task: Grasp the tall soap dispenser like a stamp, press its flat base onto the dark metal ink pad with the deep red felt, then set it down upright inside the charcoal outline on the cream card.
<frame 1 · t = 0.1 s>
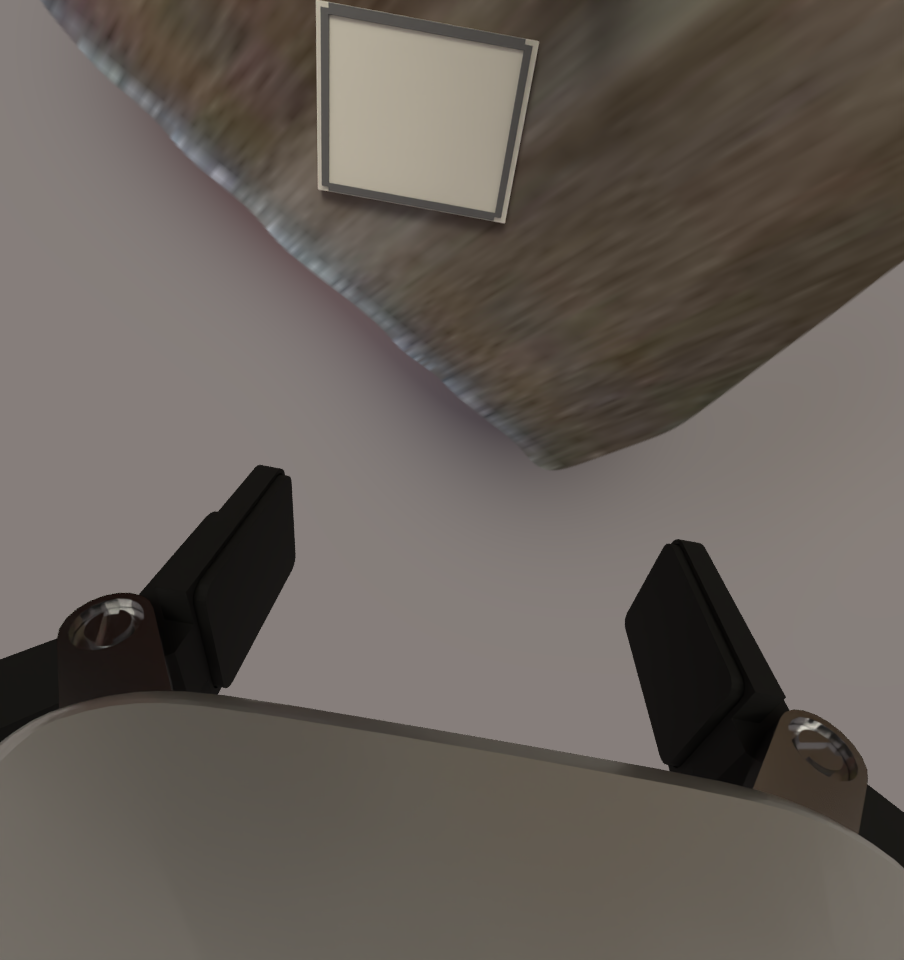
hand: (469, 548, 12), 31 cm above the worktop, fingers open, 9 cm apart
marked card: (420, 122, 32), on the worktop
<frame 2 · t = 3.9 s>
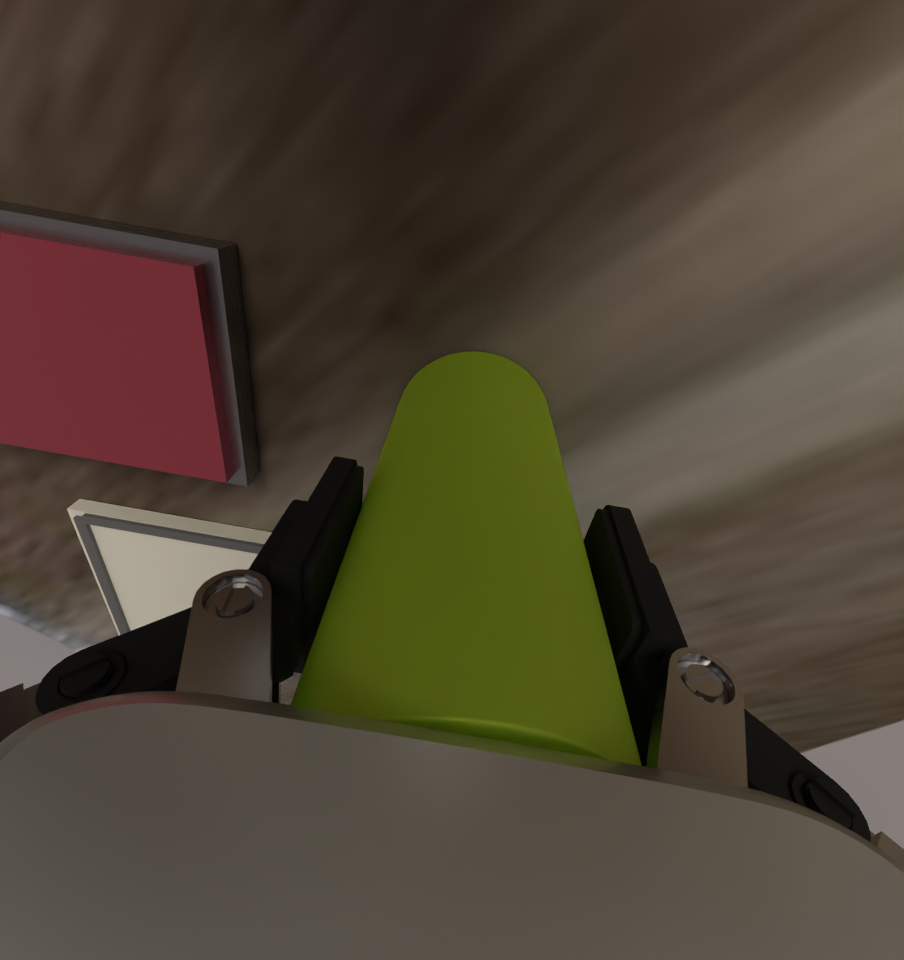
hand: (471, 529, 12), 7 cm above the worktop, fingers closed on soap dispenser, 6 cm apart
marked card: (236, 594, 25), on the worktop
soap dispenser: (481, 413, 18), on the worktop, touching gripper
ink pad: (68, 341, 18), on the worktop
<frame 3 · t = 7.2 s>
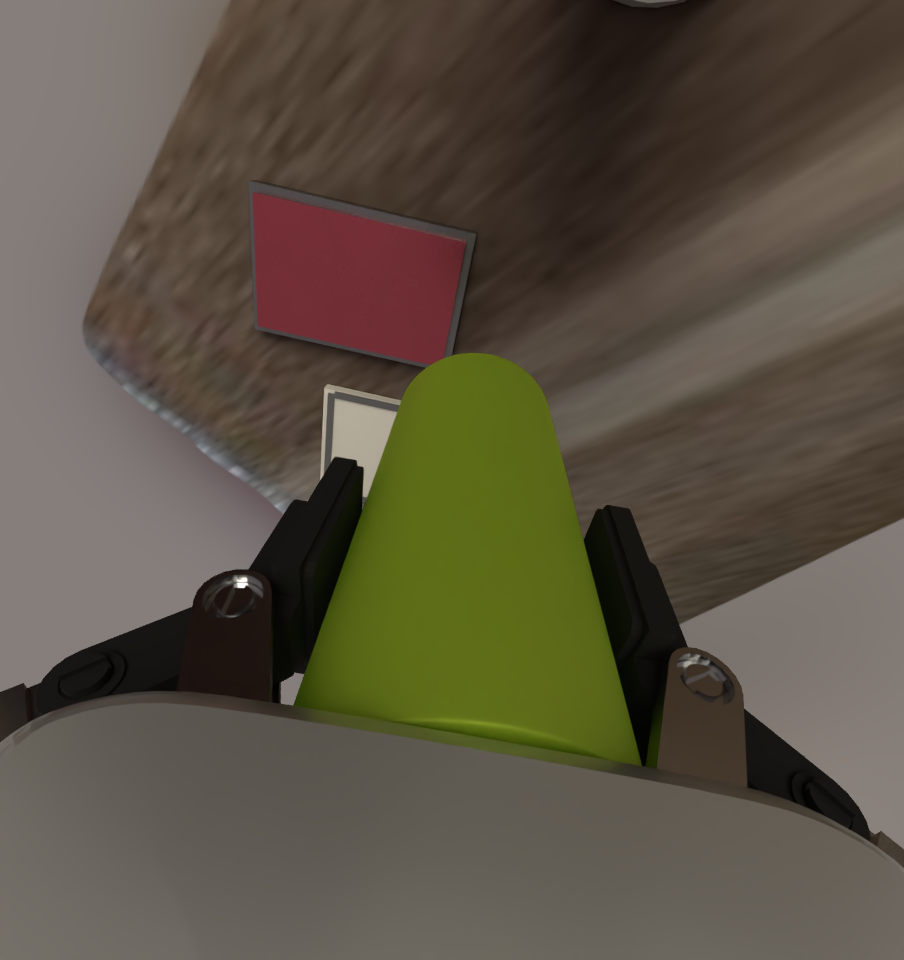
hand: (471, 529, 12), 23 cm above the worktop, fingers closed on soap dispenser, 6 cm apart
marked card: (407, 457, 39), on the worktop
soap dispenser: (482, 415, 18), point 17 cm above the worktop, touching gripper
ink pad: (361, 281, 31), on the worktop
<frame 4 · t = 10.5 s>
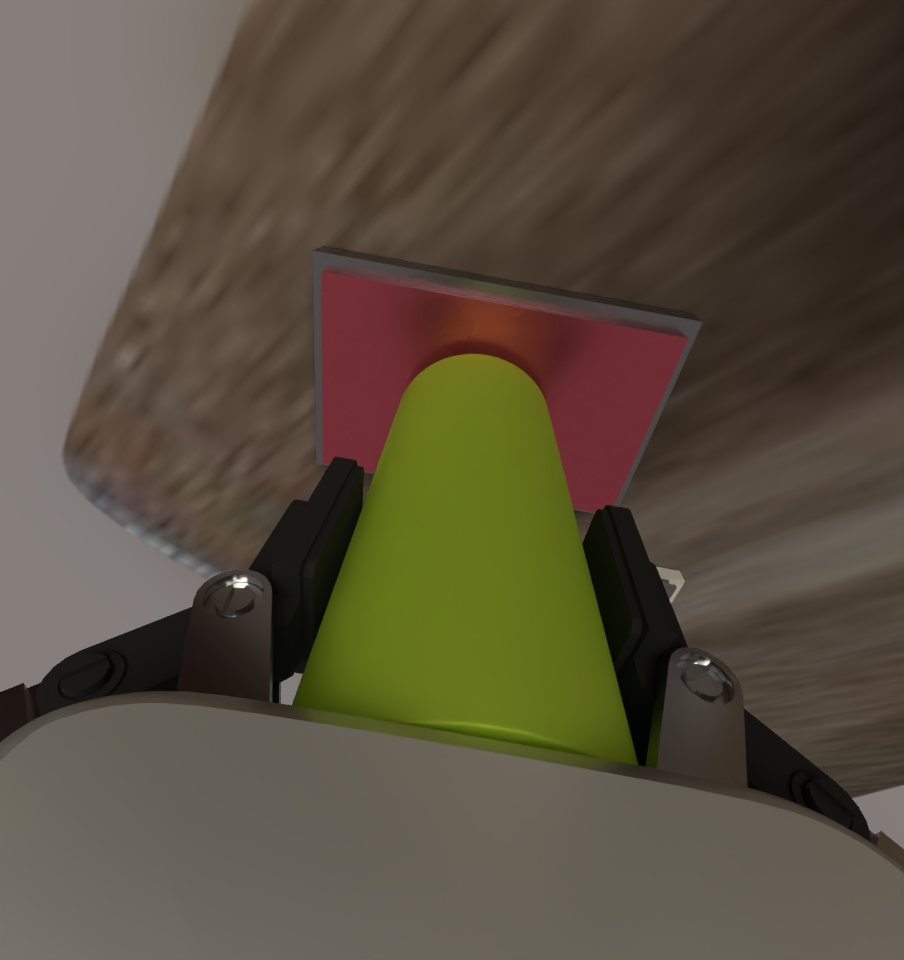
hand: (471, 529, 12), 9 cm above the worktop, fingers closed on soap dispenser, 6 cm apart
marked card: (526, 609, 27), on the worktop
soap dispenser: (481, 416, 18), point 2 cm above the worktop, touching gripper
ink pad: (485, 390, 20), on the worktop
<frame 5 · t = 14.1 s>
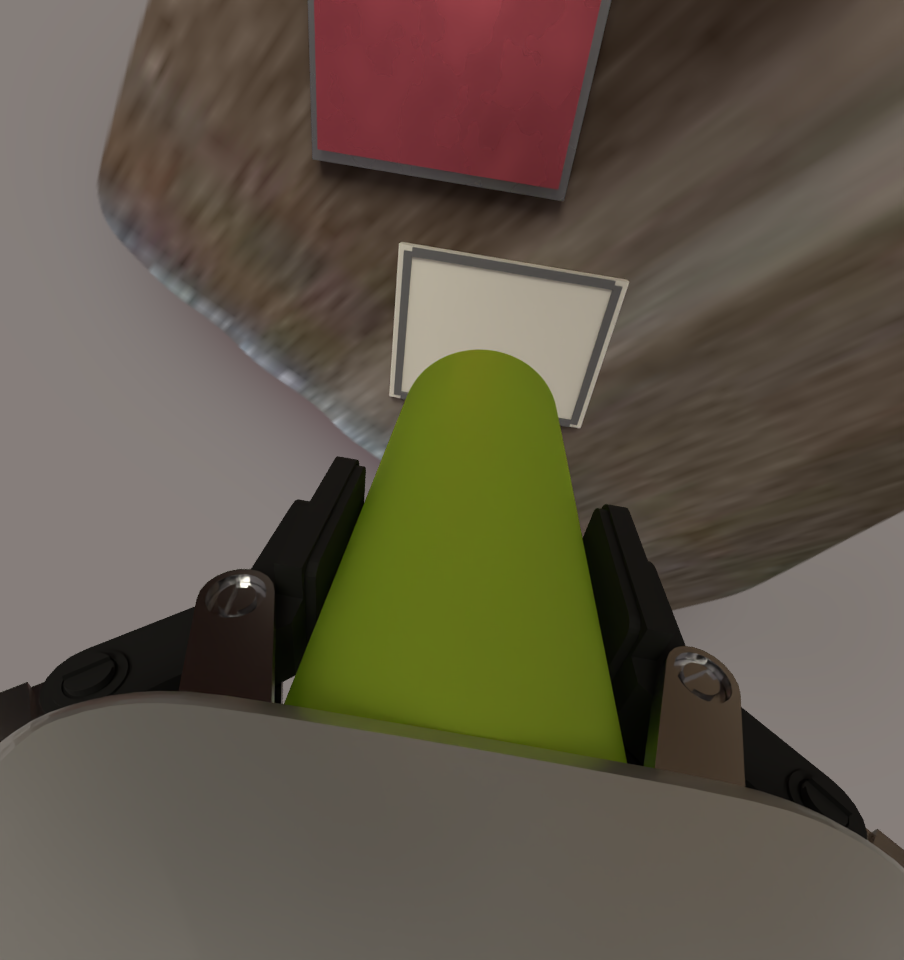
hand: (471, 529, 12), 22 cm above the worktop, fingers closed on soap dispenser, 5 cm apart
marked card: (498, 340, 31), on the worktop
soap dispenser: (488, 412, 18), point 15 cm above the worktop, touching gripper
ink pad: (451, 76, 24), on the worktop
when the fingers open (9 cm above the worktop, at t = 17.2 s): soap dispenser drops 1 cm, resting on marked card.
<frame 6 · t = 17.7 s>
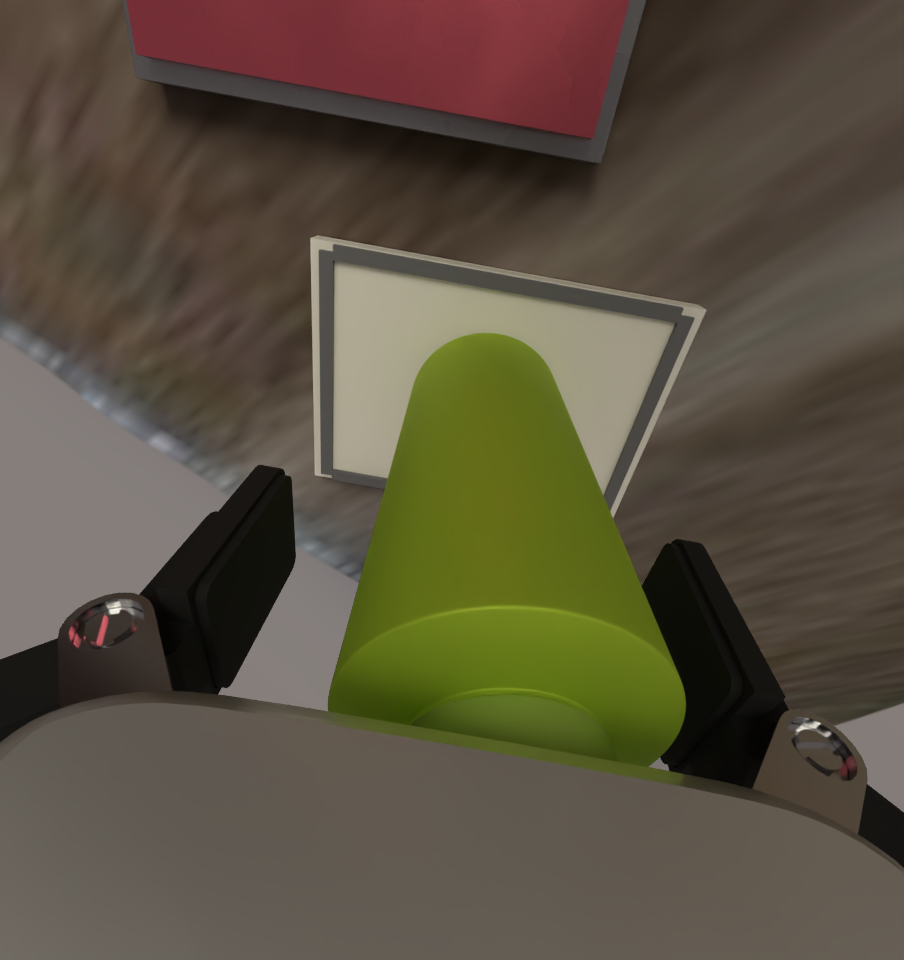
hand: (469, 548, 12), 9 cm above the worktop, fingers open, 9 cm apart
marked card: (483, 396, 19), on the worktop
soap dispenser: (492, 394, 19), point 1 cm above the worktop, touching marked card
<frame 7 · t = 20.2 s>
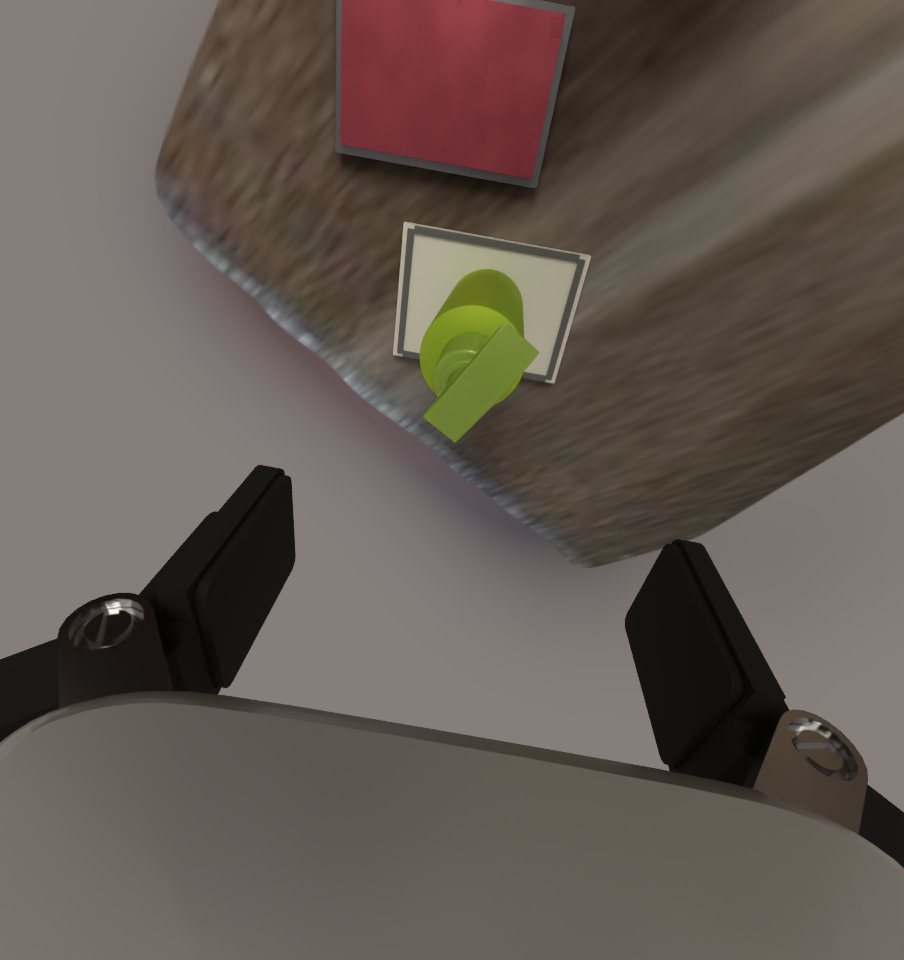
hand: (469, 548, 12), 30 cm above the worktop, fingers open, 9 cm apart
marked card: (485, 306, 37), on the worktop
soap dispenser: (489, 303, 36), point 1 cm above the worktop, touching marked card
ink pad: (447, 88, 30), on the worktop
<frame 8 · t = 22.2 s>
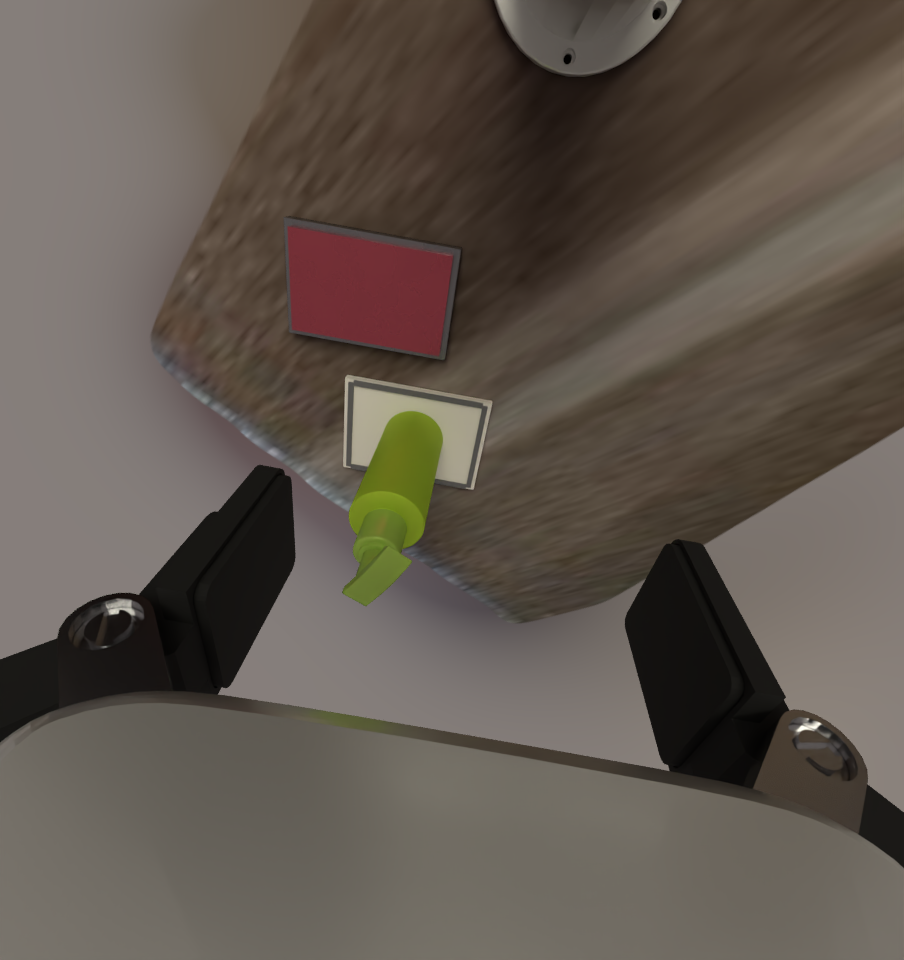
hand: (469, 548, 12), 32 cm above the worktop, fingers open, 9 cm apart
marked card: (414, 433, 47), on the worktop
soap dispenser: (416, 433, 46), point 1 cm above the worktop, touching marked card
ink pad: (372, 290, 39), on the worktop
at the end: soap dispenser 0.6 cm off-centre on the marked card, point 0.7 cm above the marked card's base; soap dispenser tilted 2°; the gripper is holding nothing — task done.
